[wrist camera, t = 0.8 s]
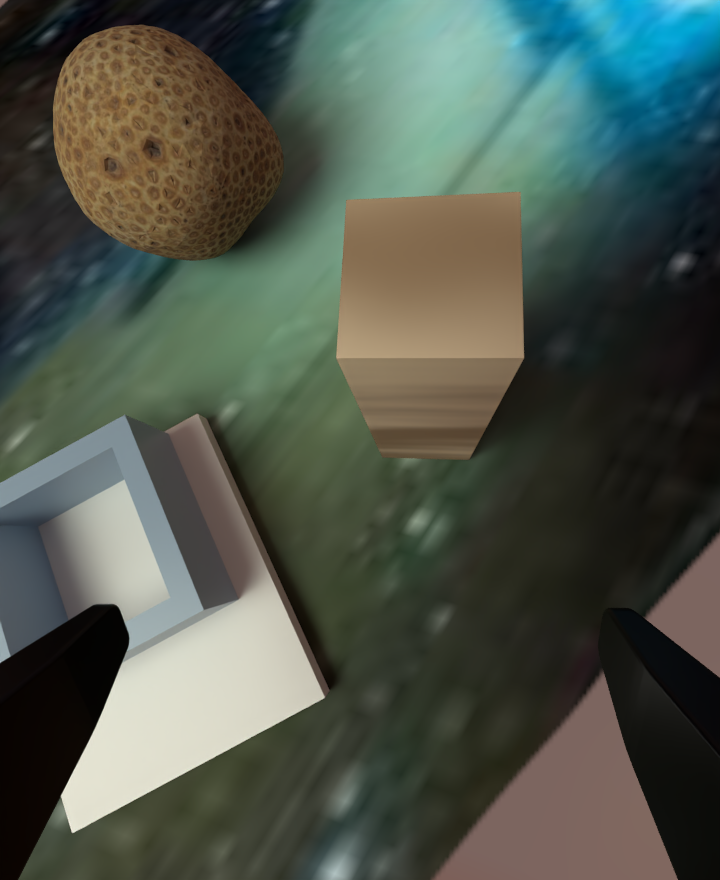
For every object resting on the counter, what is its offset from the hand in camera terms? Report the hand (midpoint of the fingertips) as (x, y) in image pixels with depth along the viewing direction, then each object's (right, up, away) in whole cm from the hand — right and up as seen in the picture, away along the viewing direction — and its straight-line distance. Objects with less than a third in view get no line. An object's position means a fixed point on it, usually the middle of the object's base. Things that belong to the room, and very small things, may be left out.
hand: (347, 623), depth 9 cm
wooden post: (+3, +4, +14) cm, 15 cm away
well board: (-10, -4, +14) cm, 17 cm away
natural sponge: (-8, +15, +18) cm, 25 cm away
